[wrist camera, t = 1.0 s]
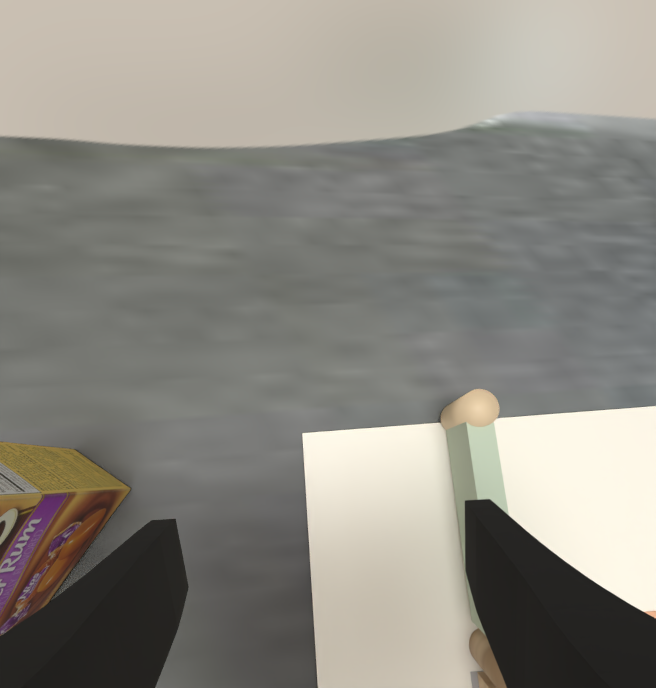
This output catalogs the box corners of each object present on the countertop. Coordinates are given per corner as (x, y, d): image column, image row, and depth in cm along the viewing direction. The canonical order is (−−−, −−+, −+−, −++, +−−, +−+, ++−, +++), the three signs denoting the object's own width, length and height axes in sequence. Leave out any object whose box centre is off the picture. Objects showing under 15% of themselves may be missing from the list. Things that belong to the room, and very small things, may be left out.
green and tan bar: (501, 618, 23) (539, 650, 19) (467, 621, 23) (497, 654, 19) (469, 402, 26) (495, 387, 22) (438, 404, 26) (459, 390, 22)
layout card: (818, 957, 20) (830, 969, 20) (337, 1000, 20) (337, 1012, 20) (675, 405, 26) (682, 403, 26) (302, 433, 26) (302, 433, 26)
